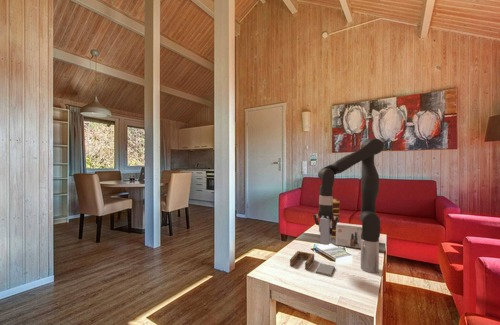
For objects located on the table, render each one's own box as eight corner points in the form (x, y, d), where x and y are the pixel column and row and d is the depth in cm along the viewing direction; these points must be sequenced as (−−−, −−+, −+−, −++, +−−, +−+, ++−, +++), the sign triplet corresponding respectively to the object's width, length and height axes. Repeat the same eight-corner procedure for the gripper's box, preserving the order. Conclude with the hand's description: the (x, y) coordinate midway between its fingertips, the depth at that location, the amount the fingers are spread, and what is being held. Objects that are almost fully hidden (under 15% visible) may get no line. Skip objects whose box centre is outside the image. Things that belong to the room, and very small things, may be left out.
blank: (331, 240, 134) (331, 216, 134) (328, 245, 126) (328, 219, 126) (323, 238, 136) (323, 215, 136) (320, 243, 128) (320, 218, 128)
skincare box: (335, 245, 172) (336, 223, 172) (336, 242, 177) (336, 222, 177) (367, 249, 164) (367, 227, 164) (366, 246, 169) (366, 225, 169)
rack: (314, 260, 145) (314, 253, 145) (307, 270, 131) (307, 263, 131) (297, 256, 150) (297, 250, 150) (289, 266, 136) (290, 259, 136)
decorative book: (339, 238, 188) (340, 201, 188) (329, 237, 190) (329, 201, 190) (335, 230, 210) (335, 197, 210) (326, 229, 212) (326, 197, 212)
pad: (334, 267, 135) (334, 266, 135) (330, 276, 124) (330, 274, 124) (320, 264, 138) (320, 263, 138) (315, 272, 128) (315, 271, 128)
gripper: (340, 203, 131) (340, 233, 131) (314, 201, 138) (314, 230, 138) (338, 205, 125) (338, 237, 125) (311, 203, 131) (311, 233, 131)
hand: (325, 233), depth 131 cm, fingers closed on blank, 4 cm apart
